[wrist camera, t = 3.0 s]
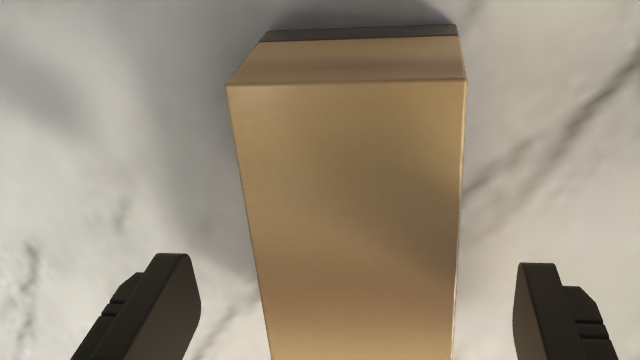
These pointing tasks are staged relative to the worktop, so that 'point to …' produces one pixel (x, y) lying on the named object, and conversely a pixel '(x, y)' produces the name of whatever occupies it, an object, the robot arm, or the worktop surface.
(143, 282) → the robot arm
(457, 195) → the eraser
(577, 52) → the worktop surface
